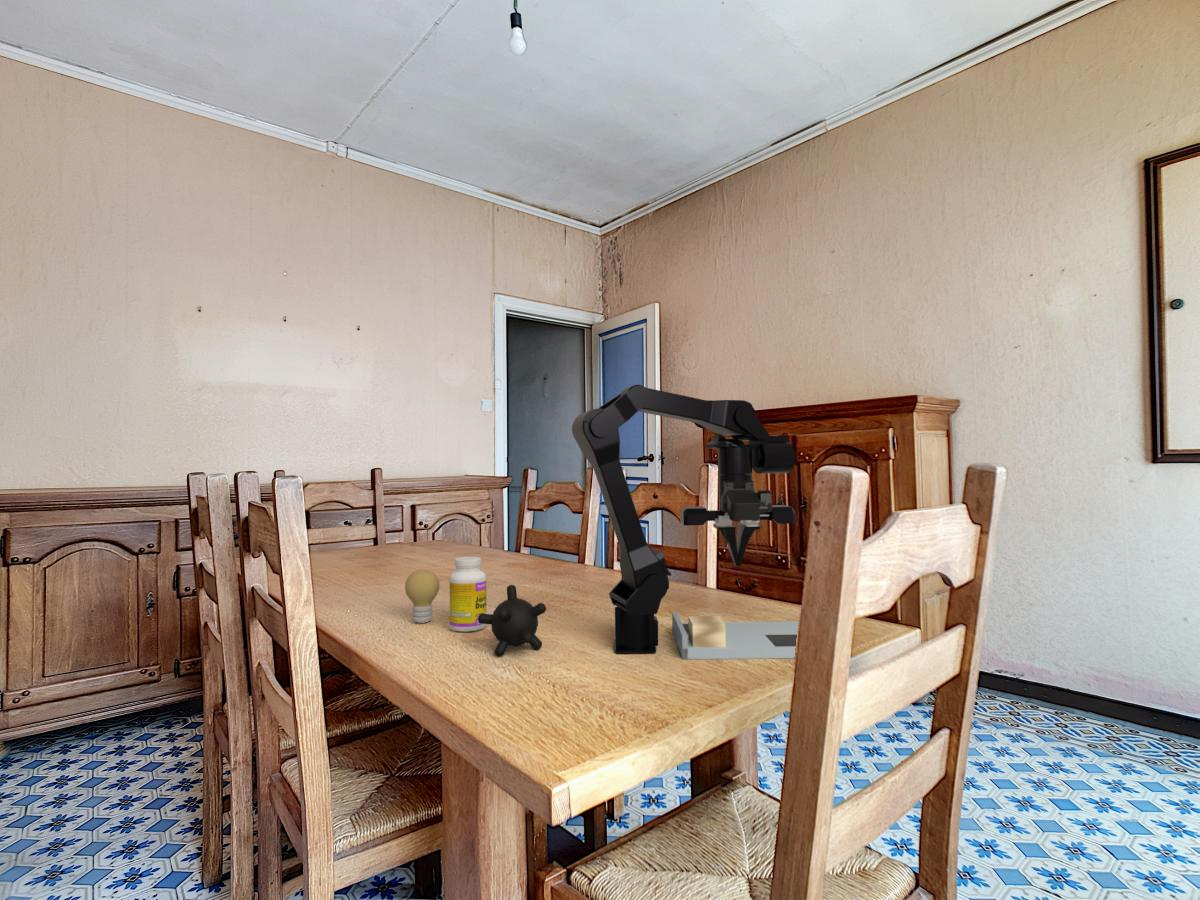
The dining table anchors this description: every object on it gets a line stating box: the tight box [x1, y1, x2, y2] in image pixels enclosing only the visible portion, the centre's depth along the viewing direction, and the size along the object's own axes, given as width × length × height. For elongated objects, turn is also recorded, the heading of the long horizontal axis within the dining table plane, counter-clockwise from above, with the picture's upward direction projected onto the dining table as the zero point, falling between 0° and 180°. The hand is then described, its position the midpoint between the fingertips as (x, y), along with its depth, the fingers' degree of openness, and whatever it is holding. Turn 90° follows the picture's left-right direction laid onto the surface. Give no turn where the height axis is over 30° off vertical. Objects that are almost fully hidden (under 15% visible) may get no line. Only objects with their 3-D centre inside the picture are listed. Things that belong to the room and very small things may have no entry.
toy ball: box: [478, 584, 547, 657], centre depth 98 cm, size 11×11×12 cm
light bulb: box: [404, 569, 441, 623], centre depth 117 cm, size 6×6×10 cm
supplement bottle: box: [449, 556, 488, 632], centre depth 112 cm, size 7×7×13 cm
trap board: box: [671, 610, 798, 660], centre depth 99 cm, size 23×15×4 cm, turn 89°
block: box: [687, 615, 726, 647], centre depth 95 cm, size 5×5×4 cm
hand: (737, 565), depth 104 cm, fingers closed
